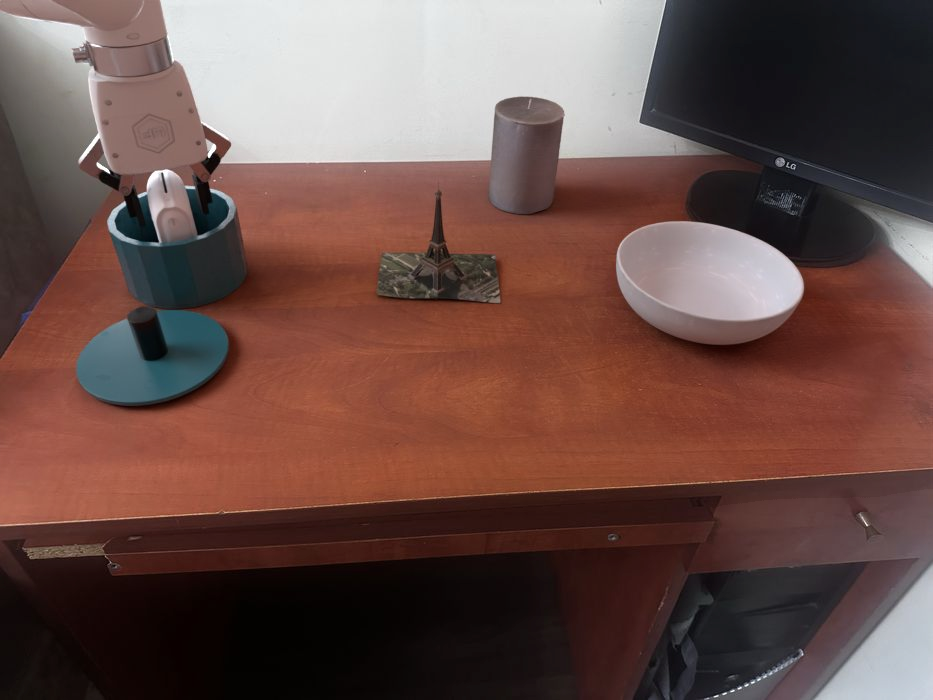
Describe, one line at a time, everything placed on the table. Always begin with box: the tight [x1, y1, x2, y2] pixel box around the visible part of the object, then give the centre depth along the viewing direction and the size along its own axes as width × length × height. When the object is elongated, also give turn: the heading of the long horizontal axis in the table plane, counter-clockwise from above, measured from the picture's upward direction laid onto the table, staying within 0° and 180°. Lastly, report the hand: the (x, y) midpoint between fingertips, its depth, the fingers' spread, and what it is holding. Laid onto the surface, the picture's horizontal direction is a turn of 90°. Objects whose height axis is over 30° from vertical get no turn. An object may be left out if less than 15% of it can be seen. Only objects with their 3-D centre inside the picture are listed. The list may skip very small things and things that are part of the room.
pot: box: [106, 185, 248, 310], centre depth 85 cm, size 14×14×8 cm
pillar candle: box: [488, 95, 566, 215], centre depth 101 cm, size 10×10×15 cm
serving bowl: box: [615, 220, 805, 346], centre depth 83 cm, size 21×21×7 cm
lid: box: [75, 305, 230, 407], centre depth 73 cm, size 15×15×6 cm
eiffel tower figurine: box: [375, 182, 502, 304], centre depth 84 cm, size 15×10×13 cm
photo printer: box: [146, 169, 198, 243], centre depth 83 cm, size 10×4×12 cm, turn 23°
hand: (173, 213), depth 82 cm, fingers open, 6 cm apart
